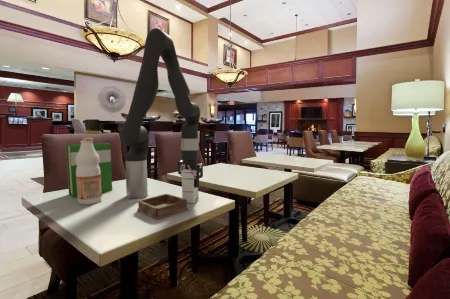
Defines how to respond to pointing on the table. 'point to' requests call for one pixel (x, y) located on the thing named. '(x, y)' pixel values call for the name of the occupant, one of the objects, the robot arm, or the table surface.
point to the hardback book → (104, 165)
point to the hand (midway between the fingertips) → (190, 185)
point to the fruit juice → (88, 173)
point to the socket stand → (162, 206)
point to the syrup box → (189, 186)
